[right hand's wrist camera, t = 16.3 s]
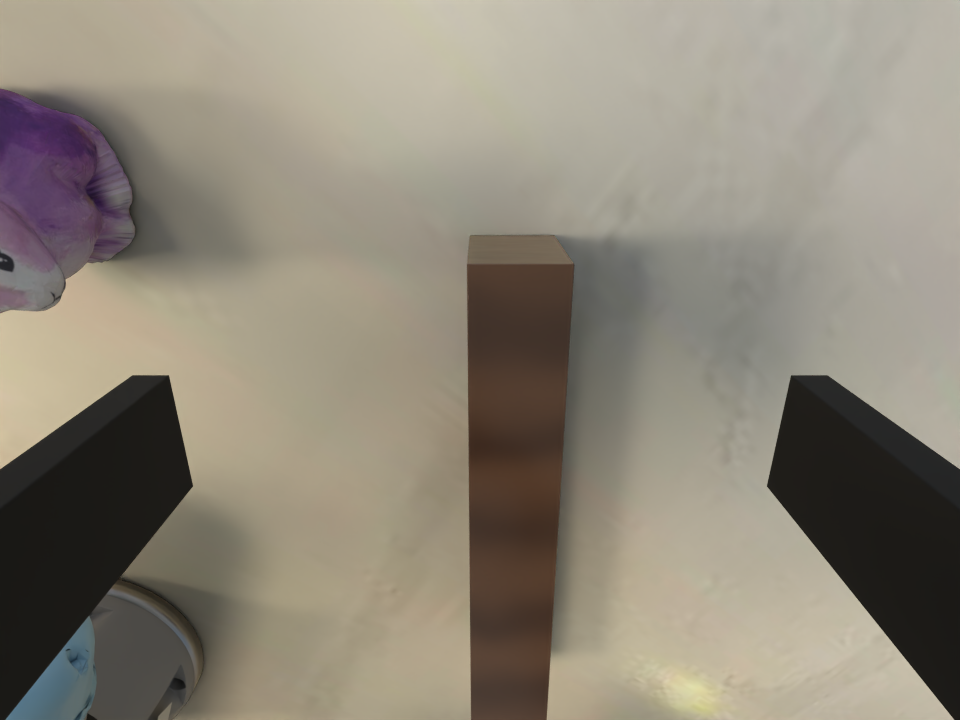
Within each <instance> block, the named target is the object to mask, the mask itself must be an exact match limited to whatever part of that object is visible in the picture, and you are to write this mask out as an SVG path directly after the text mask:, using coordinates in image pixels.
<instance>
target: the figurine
mask: <svg viewBox="0 0 960 720" xmlns="http://www.w3.org/2000/svg"><path fill="white" fill-rule="evenodd" d="M132 200H133V197H132V188H131V187H130V185H129V180H128V178H127V176H126V174H125V173H124V172H123V167H122V166H121V165H120V163H119V161H118V159H117V157H116V155H115V153H114V151H113V150H112V149H111V147H110V145H109V144H108V142H107V141H106V140H105V138H104V136H103V135H102V133H101V132H100V130H99V129H98V128H96V127H95V126H94V125H92V124H91V123H89V122H88V121H87V120H85V119H83V118H82V117H80V116H77V115H73V114H68V113H63V112H60V111H57V110H54V109H49V108H47V107H44V106H42V105H39V104H37V103H35V102H33V101H32V100H30V99H28V98H26V97H24V96H22V95H19V94H17V93H14V92H11V91H8V90H4V89H0V313H2V312H5V311H8V310H23V311H44V310H47V309H49V308H51V307H53V306H55V305H56V304H57V303H58V302H59V301H60V299H61V296H62V293H63V291H64V290H65V286H66V282H65V279H67V278H69V277H71V276H72V275H73V274H75V273H76V272H78V271H79V270H80V269H81V268H82V267H83V266H84V265H85V264H86V262H88V263H95V262H103V261H108V260H110V259H111V258H112V257H113V256H114V255H116V254H117V252H120V250H123V248H126V246H129V244H130V243H131V242H132V240H133V238H134V236H135V226H134V224H133V220H132V217H131V216H130V212H129V209H130V205H131V204H132Z"/></svg>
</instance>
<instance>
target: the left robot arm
mask: <svg viewBox="0 0 960 720" xmlns="http://www.w3.org/2000/svg"><path fill="white" fill-rule="evenodd" d="M202 669H203V651H202V647H201V644H200V641H199V638H198V636H197V634H196V632H195V631H194V629H193V628H192V626H191V625H190V623H189V622H188V621H187V619H186V618H185V617H184V616H183V615H182V614H181V613H180V612H179V611H178V610H177V609H176V608H174V607H173V606H172V605H171V604H169V603H168V602H167V601H165V600H164V599H162V598H161V597H159V596H158V595H156V594H154V593H152V592H150V591H148V590H146V589H144V588H142V587H140V586H137V585H134V584H132V583H128V582H125V581H122V580H117V581H116V583H115V584H114V585H113V586H112V588H111V589H110V590H109V591H108V593H107V594H106V595H105V596H104V598H103V599H102V600H101V601H100V603H99V604H98V605H97V606H96V608H95V609H94V610H93V611H92V613H91V614H90V615H89V616H88V618H87V619H86V620H85V621H84V623H83V624H82V625H81V626H80V628H79V629H78V630H77V631H76V633H75V634H74V635H73V636H72V638H71V639H70V640H69V641H68V643H67V644H66V645H65V646H64V647H63V649H62V650H61V651H60V652H59V654H58V655H57V656H56V657H55V659H54V660H53V661H52V662H51V664H50V665H49V666H48V667H47V669H46V670H45V671H44V672H43V674H42V675H41V676H40V677H39V679H38V680H37V681H36V682H35V684H34V685H33V686H32V687H31V689H30V690H29V691H28V692H27V694H26V695H25V696H24V697H23V699H22V700H21V701H20V702H19V704H18V705H17V706H16V707H15V709H14V710H13V711H12V712H11V713H10V715H9V716H8V717H7V718H6V720H172V719H173V718H174V717H175V716H176V715H177V714H178V713H179V712H180V711H181V709H182V708H183V706H184V705H185V704H186V703H187V701H188V700H189V698H190V696H191V694H192V692H193V690H194V688H195V687H196V685H197V683H198V681H199V679H200V676H201V673H202Z"/></svg>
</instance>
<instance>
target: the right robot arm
mask: <svg viewBox="0 0 960 720" xmlns="http://www.w3.org/2000/svg"><path fill="white" fill-rule="evenodd" d="M192 487H193V484H192V479H191V475H190V470H189V466H188V461H187V456H186V452H185V447H184V443H183V438H182V433H181V429H180V424H179V420H178V415H177V411H176V406H175V401H174V397H173V392H172V388H171V383H170V378H169V375H133V376H131V377H130V378H128V379H127V380H125V381H124V382H123V383H121V384H120V385H118V386H117V387H116V388H114V389H113V390H111V391H110V392H109V393H107V394H106V395H104V396H103V397H102V398H100V399H99V400H97V401H96V402H94V403H93V404H92V405H90V406H89V407H87V408H86V409H85V410H83V411H82V412H80V413H79V414H78V415H76V416H75V417H73V418H72V419H71V420H69V421H68V422H66V423H65V424H64V425H62V426H61V427H59V428H58V429H56V430H55V431H54V432H52V433H51V434H49V435H48V436H47V437H45V438H44V439H42V440H41V441H40V442H38V443H37V444H35V445H34V446H33V447H31V448H30V449H28V450H27V451H25V452H24V453H23V454H21V455H20V456H18V457H17V458H16V459H14V460H13V461H11V462H10V463H9V464H7V465H6V466H4V467H3V468H2V469H0V720H6V718H7V717H8V716H9V715H10V713H11V712H12V711H13V710H14V709H15V707H16V706H17V705H18V704H19V702H20V701H21V700H22V699H23V697H24V696H25V695H26V694H27V692H28V691H29V690H30V689H31V687H32V686H33V685H34V684H35V682H36V681H37V680H38V679H39V677H40V676H41V675H42V674H43V672H44V671H45V670H46V669H47V667H48V666H49V665H50V664H51V662H52V661H53V660H54V659H55V657H56V656H57V655H58V654H59V652H60V651H61V650H62V649H63V647H64V646H65V645H66V644H67V643H68V641H69V640H70V639H71V638H72V636H73V635H74V634H75V633H76V631H77V630H78V629H79V628H80V626H81V625H82V624H83V623H84V621H85V620H86V619H87V618H88V616H89V615H90V614H91V613H92V611H93V610H94V609H95V608H96V606H97V605H98V604H99V603H100V601H101V600H102V599H103V598H104V596H105V595H106V594H107V593H108V591H109V590H110V589H111V588H112V586H113V585H114V584H115V583H116V581H117V580H118V579H119V578H120V577H121V575H122V574H123V573H124V572H125V570H126V569H127V568H128V567H129V565H130V564H131V563H132V562H133V560H134V559H135V558H136V557H137V555H138V554H139V553H140V552H141V550H142V549H143V548H144V547H145V545H146V544H147V543H148V542H149V540H150V539H151V538H152V537H153V535H154V534H155V533H156V532H157V530H158V529H159V528H160V527H161V525H162V524H163V523H164V522H165V520H166V519H167V518H168V517H169V515H170V514H171V513H172V512H173V511H174V509H175V508H176V507H177V506H178V504H179V503H180V502H181V501H182V499H183V498H184V497H185V496H186V494H187V493H188V492H189V491H190V489H191V488H192ZM767 487H768V488H769V489H770V491H771V492H772V493H773V494H774V496H775V497H776V498H777V499H778V501H779V502H780V503H781V504H782V506H783V507H784V508H785V509H786V511H787V512H788V513H789V514H790V515H791V517H792V518H793V519H794V520H795V522H796V523H797V524H798V525H799V527H800V528H801V529H802V530H803V532H804V533H805V534H806V535H807V537H808V538H809V539H810V540H811V542H812V543H813V544H814V545H815V547H816V548H817V549H818V550H819V552H820V553H821V554H822V555H823V557H824V558H825V559H826V560H827V562H828V563H829V564H830V565H831V567H832V568H833V569H834V570H835V572H836V573H837V574H838V575H839V577H840V578H841V579H842V580H843V581H844V583H845V584H846V585H847V586H848V588H849V589H850V590H851V591H852V593H853V594H854V595H855V596H856V598H857V599H858V600H859V601H860V603H861V604H862V605H863V606H864V608H865V609H866V610H867V611H868V613H869V614H870V615H871V616H872V618H873V619H874V620H875V621H876V623H877V624H878V625H879V626H880V628H881V629H882V630H883V631H884V633H885V634H886V635H887V636H888V638H889V639H890V640H891V641H892V643H893V644H894V645H895V646H896V647H897V649H898V650H899V651H900V652H901V654H902V655H903V656H904V657H905V659H906V660H907V661H908V662H909V664H910V665H911V666H912V667H913V669H914V670H915V671H916V672H917V674H918V675H919V676H920V677H921V679H922V680H923V681H924V682H925V684H926V685H927V686H928V687H929V689H930V690H931V691H932V692H933V694H934V695H935V696H936V697H937V699H938V700H939V701H940V702H941V704H942V705H943V706H944V707H945V709H946V710H947V711H948V712H949V713H950V715H951V716H952V717H953V718H954V720H960V469H958V468H957V467H956V466H954V465H953V464H951V463H950V462H949V461H947V460H946V459H944V458H943V457H942V456H940V455H939V454H937V453H936V452H935V451H933V450H932V449H930V448H929V447H927V446H926V445H925V444H923V443H922V442H920V441H919V440H918V439H916V438H915V437H913V436H912V435H911V434H909V433H908V432H906V431H905V430H904V429H902V428H901V427H899V426H898V425H896V424H895V423H894V422H892V421H891V420H889V419H888V418H887V417H885V416H884V415H882V414H881V413H880V412H878V411H877V410H875V409H874V408H873V407H871V406H870V405H868V404H867V403H865V402H864V401H863V400H861V399H860V398H858V397H857V396H856V395H854V394H853V393H851V392H850V391H849V390H847V389H846V388H844V387H843V386H842V385H840V384H839V383H837V382H836V381H835V380H833V379H832V378H830V377H829V376H827V375H791V378H790V383H789V388H788V392H787V397H786V401H785V406H784V411H783V415H782V420H781V424H780V429H779V433H778V438H777V443H776V447H775V452H774V456H773V461H772V466H771V470H770V475H769V479H768V484H767Z"/></svg>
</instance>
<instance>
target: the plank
mask: <svg viewBox="0 0 960 720" xmlns="http://www.w3.org/2000/svg"><path fill="white" fill-rule="evenodd" d="M573 278H574V263H573V262H572V260H571V259H570V257H569V256H568V255H567V253H566V252H565V250H564V249H563V247H562V246H561V244H560V243H559V241H558V240H557V239H556V237H555V236H554V235H530V236H470V240H469V250H468V261H467V310H468V422H469V534H470V646H471V720H547V704H548V688H549V671H550V655H551V638H552V622H553V606H554V589H555V573H556V556H557V540H558V524H559V507H560V491H561V474H562V458H563V442H564V425H565V409H566V392H567V376H568V360H569V343H570V327H571V310H572V294H573Z"/></svg>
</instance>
